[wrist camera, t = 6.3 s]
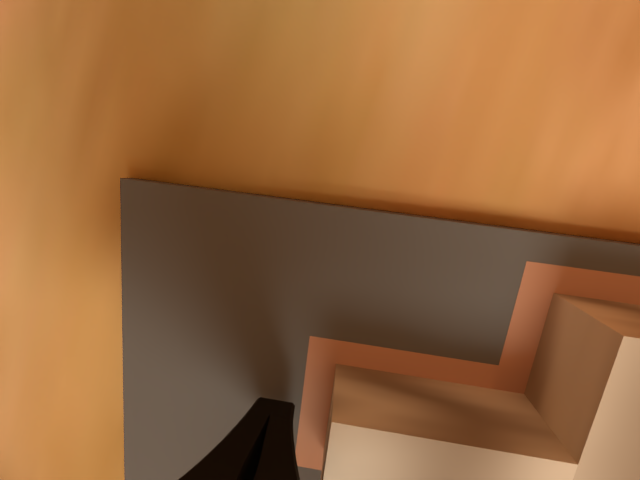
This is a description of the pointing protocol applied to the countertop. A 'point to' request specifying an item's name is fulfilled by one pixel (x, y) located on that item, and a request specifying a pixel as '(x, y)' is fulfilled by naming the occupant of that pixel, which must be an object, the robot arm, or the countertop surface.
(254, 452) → the robot arm
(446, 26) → the countertop surface
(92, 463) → the countertop surface
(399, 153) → the countertop surface
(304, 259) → the mat
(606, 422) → the t block
